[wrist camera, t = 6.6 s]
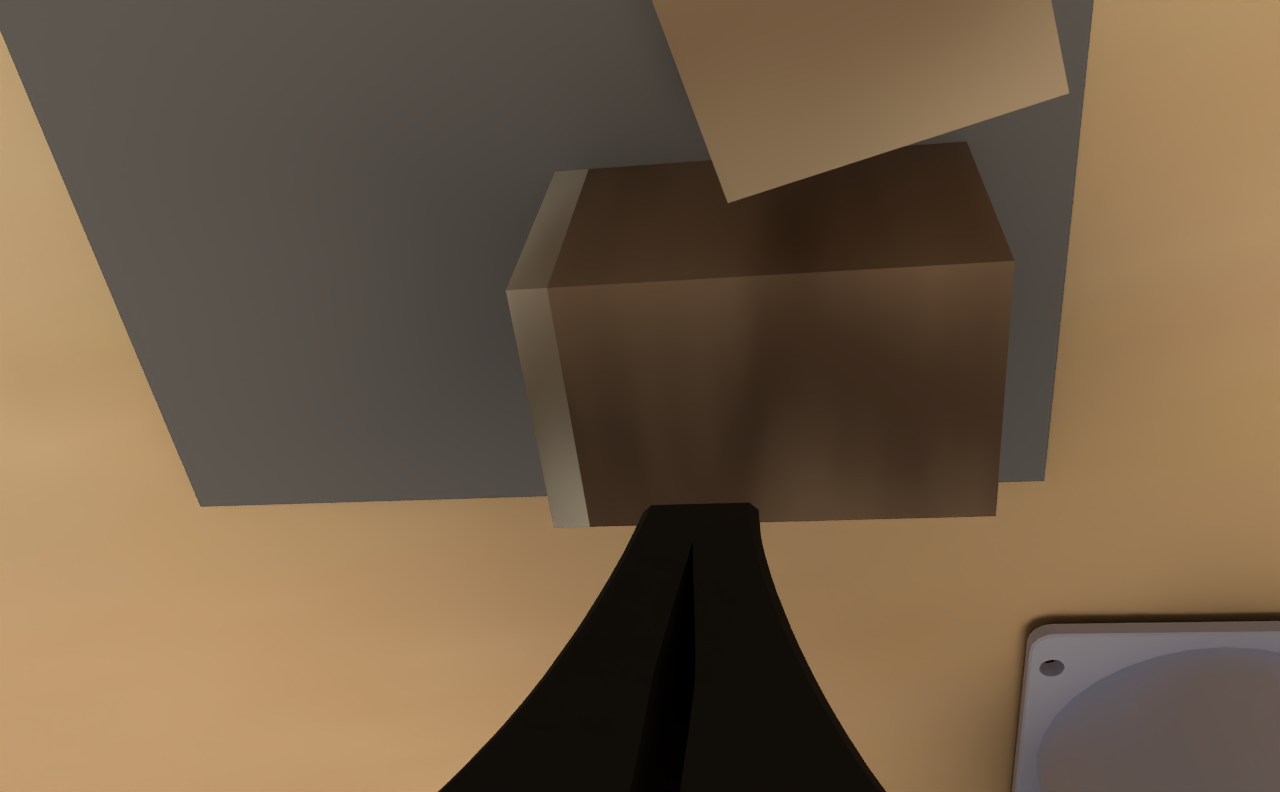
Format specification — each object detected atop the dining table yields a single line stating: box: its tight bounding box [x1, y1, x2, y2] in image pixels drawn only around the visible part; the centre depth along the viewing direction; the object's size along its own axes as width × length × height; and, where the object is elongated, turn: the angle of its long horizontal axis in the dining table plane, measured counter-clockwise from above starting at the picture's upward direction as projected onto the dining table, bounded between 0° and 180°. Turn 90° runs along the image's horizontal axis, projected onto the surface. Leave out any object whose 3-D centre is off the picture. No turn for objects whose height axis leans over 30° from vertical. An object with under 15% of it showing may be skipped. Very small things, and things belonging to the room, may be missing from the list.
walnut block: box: [506, 142, 1015, 528], centre depth 18 cm, size 4×4×7 cm
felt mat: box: [0, 0, 1094, 507], centre depth 20 cm, size 14×18×1 cm
